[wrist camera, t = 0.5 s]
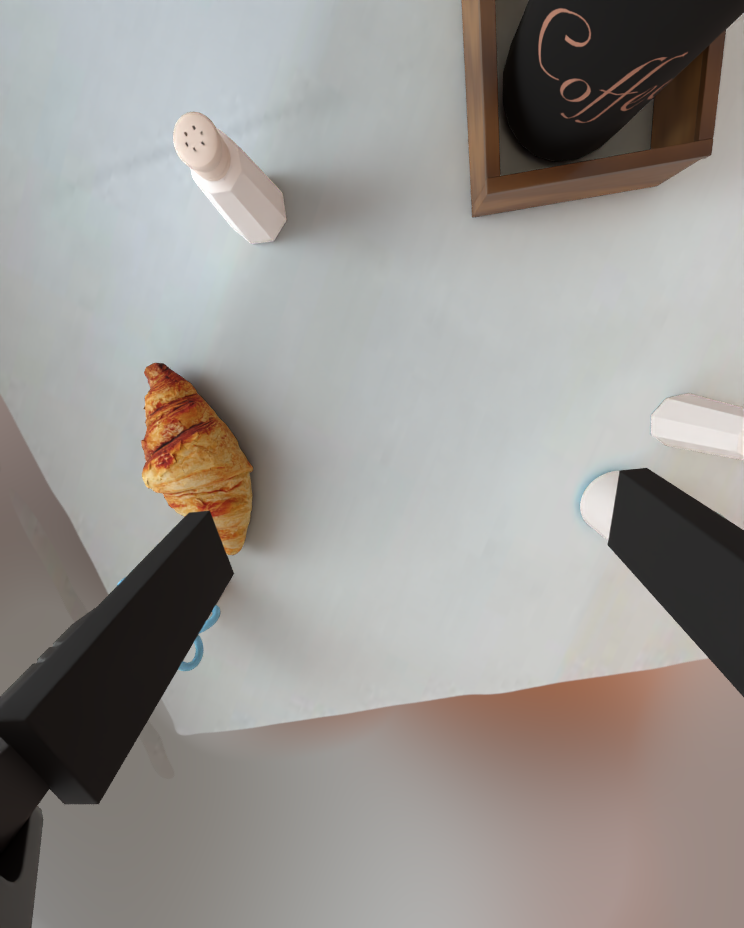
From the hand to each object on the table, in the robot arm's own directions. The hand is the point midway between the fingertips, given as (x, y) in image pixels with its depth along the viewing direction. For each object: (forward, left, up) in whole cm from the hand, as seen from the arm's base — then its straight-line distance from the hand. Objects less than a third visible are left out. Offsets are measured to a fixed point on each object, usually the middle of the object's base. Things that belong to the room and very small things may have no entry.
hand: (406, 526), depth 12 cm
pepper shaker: (-19, -9, -26) cm, 34 cm away
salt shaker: (+5, +29, -26) cm, 39 cm away
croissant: (+3, -20, -26) cm, 33 cm away
